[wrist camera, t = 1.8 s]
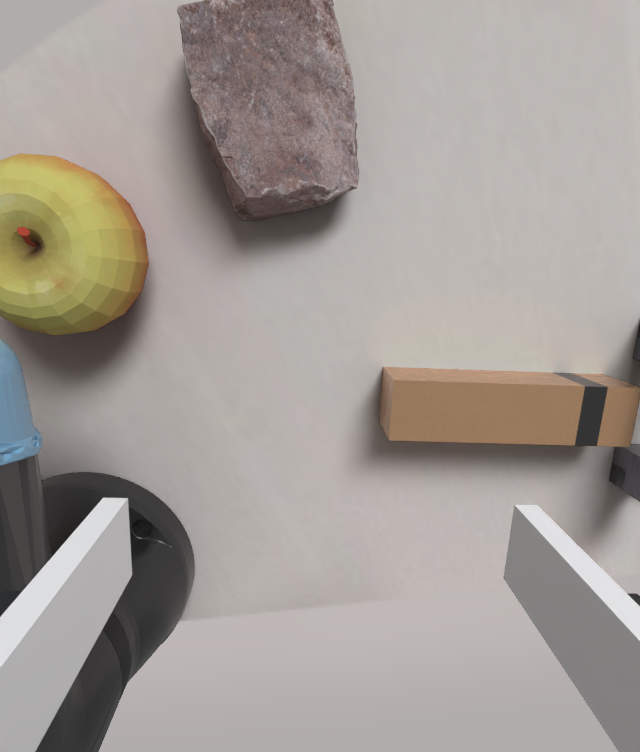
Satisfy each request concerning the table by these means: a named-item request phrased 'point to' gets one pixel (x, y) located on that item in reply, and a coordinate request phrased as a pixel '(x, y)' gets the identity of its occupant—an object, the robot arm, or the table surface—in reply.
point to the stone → (273, 101)
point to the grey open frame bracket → (628, 458)
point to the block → (507, 407)
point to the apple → (65, 247)
